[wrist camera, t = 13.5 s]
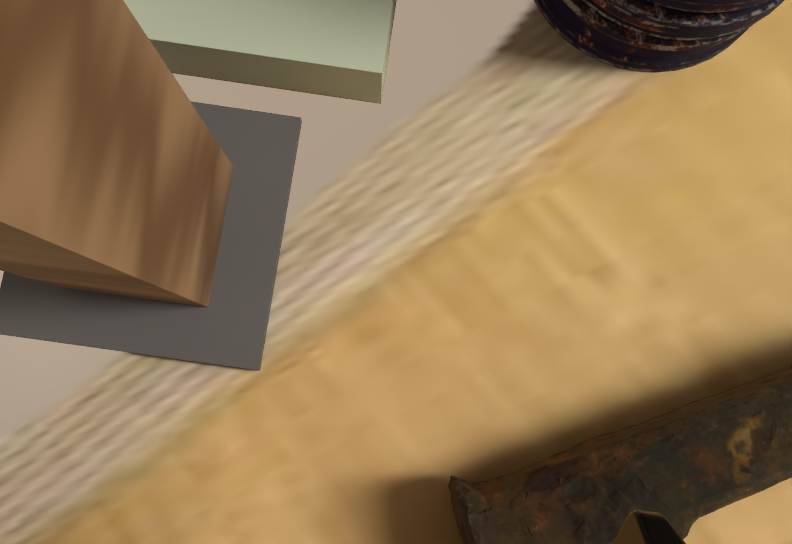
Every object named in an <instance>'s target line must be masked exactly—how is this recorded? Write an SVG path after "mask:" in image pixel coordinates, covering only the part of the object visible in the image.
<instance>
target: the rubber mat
mask: <svg viewBox="0 0 792 544" xmlns="http://www.w3.org/2000/svg"><path fill="white" fill-rule="evenodd" d="M191 103H192V105H193V106H194V108H195V109H196V111H197V112H198V114H199V115H200V117H201V119H202V120H203V122H204V123H205V125H206V126H207V128H208V129H209V131H210V132H211V134H212V135H213V137H214V138H215V140H216V141H217V143H218V144H219V146H220V147H221V149H222V150H223V152H224V153H225V155H226V156H227V158H228V159H229V161H230V162H231V164H232V165H233V171H232V177H231V182H230V188H229V194H228V199H227V205H226V211H225V216H224V222H223V227H222V233H221V239H220V244H219V250H218V256H217V261H216V267H215V273H214V278H213V284H212V289H211V295H210V301H209V306H208V307H203V306H196V305H188V304H181V303H174V302H166V301H159V300H151V299H144V298H137V297H129V296H122V295H115V294H107V293H100V292H93V291H85V290H78V289H71V288H63V287H59V286H55V285H51V284H48V283H44V282H41V281H37V280H34V279H30V278H27V277H23V276H19V275H16V274H12V273H9V272H5V271H4V274H3V279H2V283H1V288H0V334H2V335H9V336H16V337H24V338H30V339H31V338H32V339H38V340H45V341H52V342H59V343H66V344H74V345H81V346H88V347H95V348H102V349H109V350H116V351H123V352H130V353H138V354H145V355H152V356H159V357H166V358H173V359H180V360H188V361H195V362H202V363H209V364H216V365H223V366H231V367H238V368H245V369H252V370H260V366H261V360H262V354H263V349H264V343H265V337H266V331H267V325H268V319H269V313H270V307H271V301H272V295H273V289H274V283H275V277H276V271H277V265H278V259H279V254H280V248H281V242H282V236H283V230H284V224H285V218H286V212H287V206H288V200H289V194H290V188H291V182H292V176H293V170H294V165H295V158H296V153H297V147H298V141H299V135H300V129H301V123H302V121H301V118H300V117H293V116H286V115H279V114H272V113H266V112H259V111H252V110H245V109H238V108H231V107H224V106H218V105H211V104H204V103H197V102H191Z"/></svg>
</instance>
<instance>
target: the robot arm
mask: <svg viewBox="0 0 792 544" xmlns="http://www.w3.org/2000/svg"><path fill="white" fill-rule="evenodd" d="M613 544H686V543H685V542H684V541H683V539H682V538H681V537H680V535H679V534H678V533H677V531H676V530H675V529H674V527H673V526H672V525H671V523H670V522H669V521H668V520H667V518H665V517H664V516H663V515H661V514H659V513H656V512H649V511H641V510H634V511H632V512H630V513H629V515H628V516H627V518H626V520H625V522H624V524H623V525H622V527H621V529H620V531H619V532H618V534H617V536H616V538H615V540H614V542H613Z"/></svg>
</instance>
